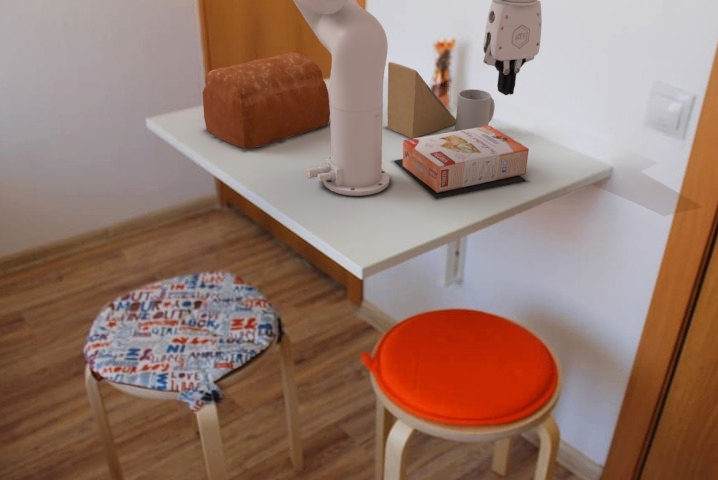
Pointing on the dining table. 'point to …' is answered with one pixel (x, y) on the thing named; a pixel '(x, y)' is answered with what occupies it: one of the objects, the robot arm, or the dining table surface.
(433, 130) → the sandwich container
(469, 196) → the dining table surface
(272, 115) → the bread
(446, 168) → the cracker box
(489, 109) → the cup
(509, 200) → the dining table surface
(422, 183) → the mat
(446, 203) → the dining table surface
